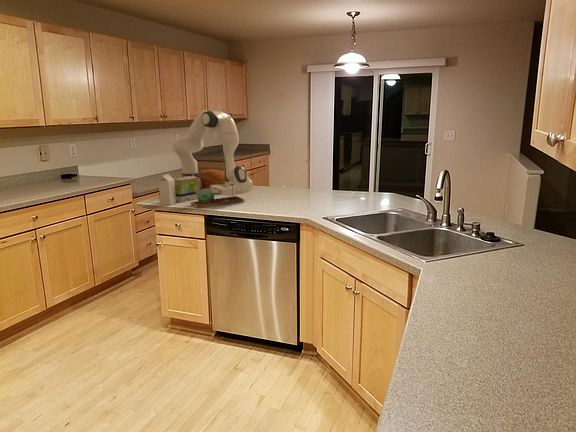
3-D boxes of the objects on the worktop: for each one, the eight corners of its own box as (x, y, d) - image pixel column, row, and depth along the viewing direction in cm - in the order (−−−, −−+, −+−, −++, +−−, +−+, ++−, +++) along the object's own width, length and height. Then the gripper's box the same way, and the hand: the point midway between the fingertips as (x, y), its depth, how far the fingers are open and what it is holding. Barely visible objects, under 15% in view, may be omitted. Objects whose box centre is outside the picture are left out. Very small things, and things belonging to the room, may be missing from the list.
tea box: (182, 202, 276) (180, 179, 273) (172, 200, 282) (170, 178, 278) (199, 198, 288) (198, 176, 284) (190, 196, 294) (188, 175, 290)
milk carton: (176, 202, 275) (173, 173, 270) (170, 205, 268) (167, 175, 264) (166, 202, 277) (163, 173, 272) (160, 204, 270) (157, 174, 266)
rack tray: (191, 205, 268) (190, 202, 267) (236, 199, 284) (236, 196, 284) (197, 208, 259) (197, 205, 259) (243, 201, 276) (243, 198, 275)
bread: (209, 186, 332) (208, 166, 328) (235, 192, 309) (234, 170, 305) (194, 188, 323) (192, 168, 319) (219, 194, 300) (218, 172, 296)
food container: (198, 206, 263) (195, 191, 260) (197, 204, 269) (194, 189, 266) (217, 203, 266) (215, 187, 264) (216, 201, 272) (214, 186, 269)
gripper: (222, 181, 282) (202, 183, 274) (236, 185, 265) (215, 188, 258) (222, 190, 283) (202, 193, 276) (236, 195, 266) (216, 198, 259)
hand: (209, 191), depth 267 cm, fingers closed on food container, 5 cm apart
